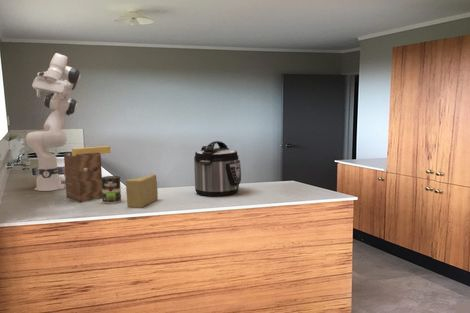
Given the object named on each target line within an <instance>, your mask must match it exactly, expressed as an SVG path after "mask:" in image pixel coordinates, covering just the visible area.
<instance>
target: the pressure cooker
mask: <svg viewBox="0 0 470 313" xmlns="http://www.w3.org/2000/svg"><path fill="white" fill-rule="evenodd" d="M216 144H217V145H218V147H215V146H216ZM200 149H201V150H199V151H195V152H194V153H195V154H194V159H193V165H194V169H193V170H194V188H195V192H196V194H198V195H199V196H205V197H206V196H207V197H223V196H231V195H234V194H237V193H238V192H239V188H240V184H241V183H242V169H241V160H240V159H239V155H238V151H237V150H233V149H230V148H229V147H228V145H226V144H225V143H224V142H222V141H219V140H216V141H212V142H210V143H209V144H208V145H207V146H206V145H203V146H201V148H200Z"/></svg>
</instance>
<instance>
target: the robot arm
mask: <svg viewBox="0 0 470 313" xmlns="http://www.w3.org/2000/svg"><path fill="white" fill-rule="evenodd" d="M68 58H69V57H68V56H67V55H65V54H63V53H60V52H55V53H54V55H53V57H52V58H51V60H50V62H49V65H48V68H47V70H46V71H41V72H40V71H39V72H37V76H36V77H35V78H34V79H33V82H32V85H31V86H32V88H33V89H34V90H36V97H37V98H41V93H40V92H47V94H46V95H45V97H44V98H43V105H44V106H45V108H48V109H50V110H53V111H52V112H51V113H50V114H49V115H48V116H47V119H46V120H45V122H44V124H43V130H40V131H39V130H38V131H37V130H36V131H35V130H34V131H31V132H28V133H27V134H26V136H25V143H26V145H27V146H28V147H30V148H31V149H32V150H33V151H34V152H35V154H36V156H37V161H38V171H37V172H38V176H36V187H35V188H34V189H33V190H34V191H39V192H49V191H57V190H58V191H59V190H64V189H65V184H64V183H63V182H62V180H61V176H60V174H59V168H58V160H57V159H58V158H57V156H56V155H55V154H54V153H52V152H50V151H49V149H50V148H52V149H53V148H61V147H64V146H65V145H66V143H67V140H68V138H67V136H66V133H65V132H64V131H62V128H63V126H64V124H65V119H66V116H68V117H69V116H70V115H73V114H74V113H76V112H77V109H78V102H77V100H76V99H74V98H70V97H69V96H70V94H71V92H72V91H74V90H75V88H76V87H77V85H78V82H79V81H80V79H81V77H82V76H81V71H80V70H79V69H78V68H76V67H71V66H68Z"/></svg>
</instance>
